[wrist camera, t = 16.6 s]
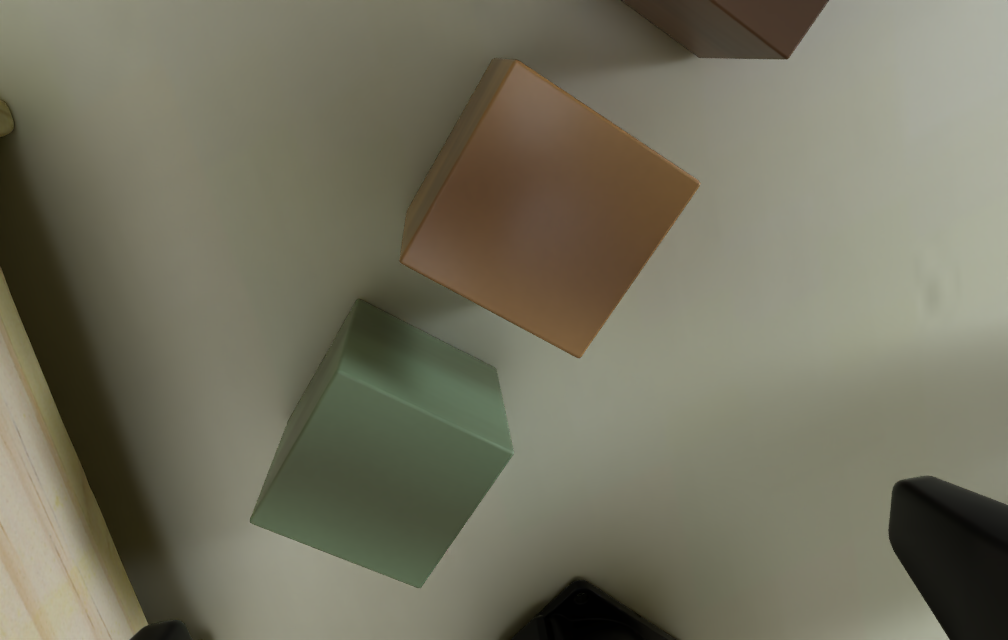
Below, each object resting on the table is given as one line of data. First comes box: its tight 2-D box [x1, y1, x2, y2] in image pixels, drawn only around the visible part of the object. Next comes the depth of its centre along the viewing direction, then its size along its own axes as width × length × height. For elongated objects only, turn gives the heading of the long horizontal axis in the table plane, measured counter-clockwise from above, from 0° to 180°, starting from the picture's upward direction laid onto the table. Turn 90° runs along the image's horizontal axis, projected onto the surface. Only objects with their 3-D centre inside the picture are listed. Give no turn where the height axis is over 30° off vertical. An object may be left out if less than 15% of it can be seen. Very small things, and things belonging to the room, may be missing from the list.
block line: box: [250, 0, 829, 588], centre depth 16 cm, size 30×8×5 cm, turn 148°
